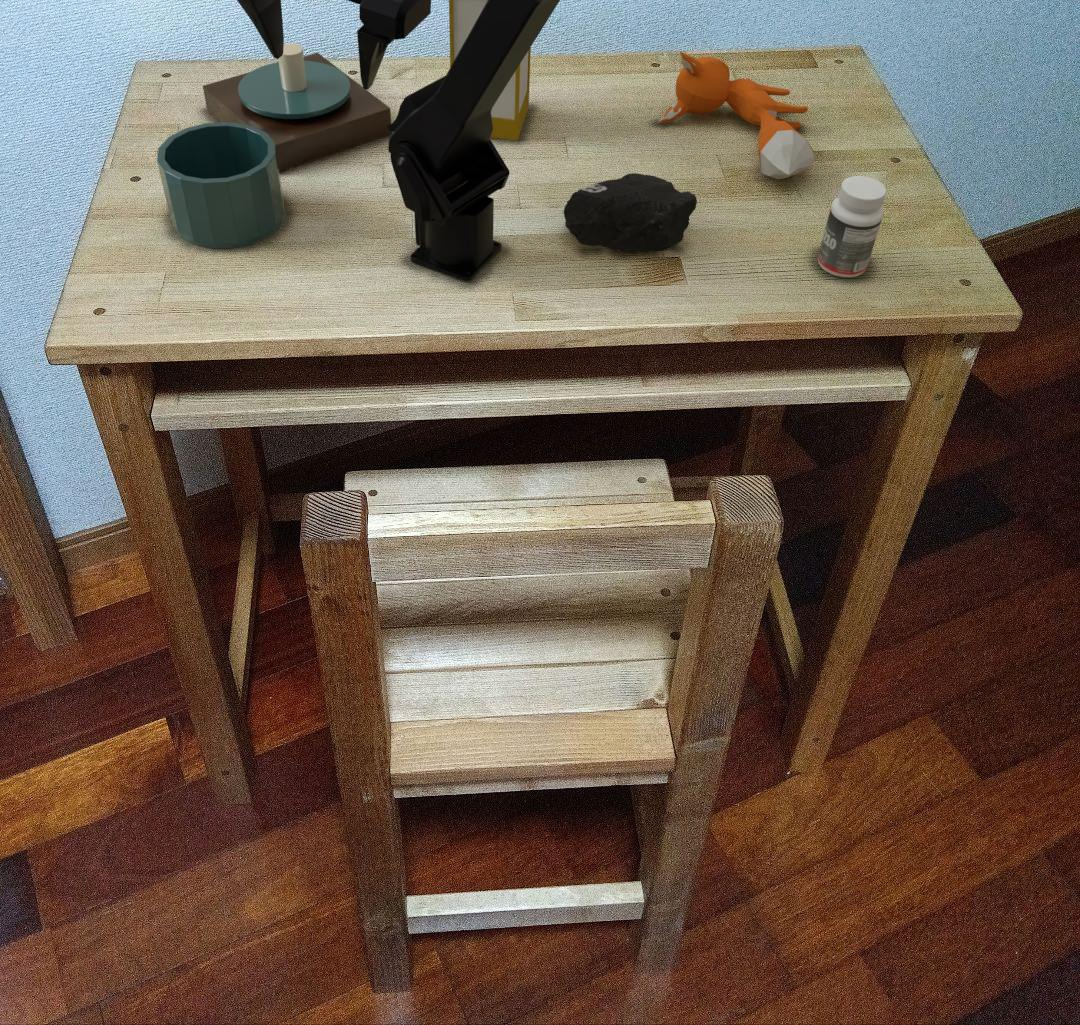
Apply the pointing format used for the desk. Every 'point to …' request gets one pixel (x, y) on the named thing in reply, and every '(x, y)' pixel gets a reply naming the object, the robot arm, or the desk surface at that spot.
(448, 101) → the robot arm
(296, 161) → the board
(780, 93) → the toy
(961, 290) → the desk surface
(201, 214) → the jar
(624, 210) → the rock
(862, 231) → the pill bottle
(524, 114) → the white and yellow box
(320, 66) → the lid
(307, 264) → the desk surface
